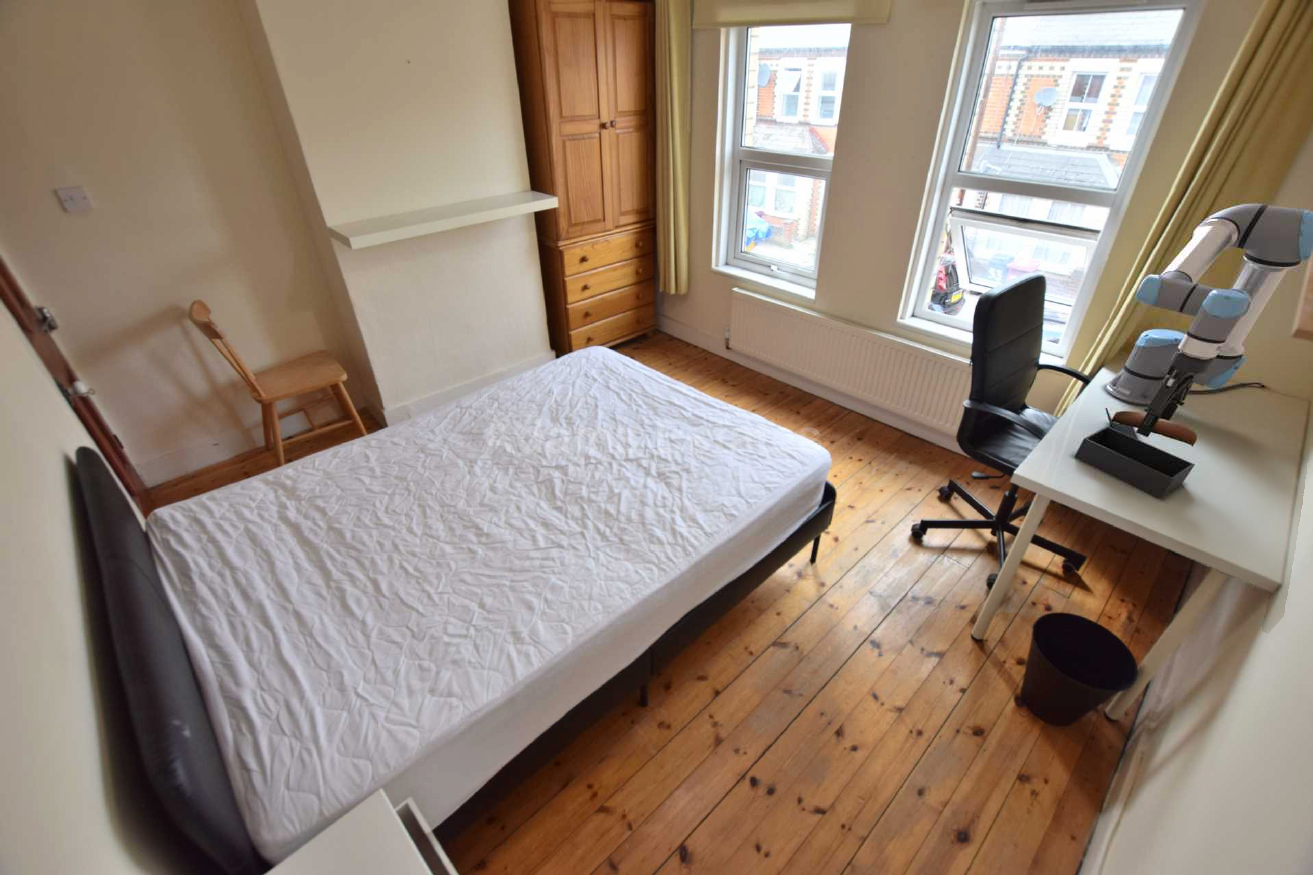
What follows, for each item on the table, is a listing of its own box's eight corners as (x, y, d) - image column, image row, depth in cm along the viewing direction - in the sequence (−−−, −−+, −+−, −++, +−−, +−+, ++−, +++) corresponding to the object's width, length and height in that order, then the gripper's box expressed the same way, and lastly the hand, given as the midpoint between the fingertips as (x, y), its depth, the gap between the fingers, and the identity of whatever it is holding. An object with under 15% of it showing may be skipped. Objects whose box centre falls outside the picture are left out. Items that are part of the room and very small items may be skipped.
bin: (1097, 444, 173) (1107, 426, 170) (1182, 483, 158) (1195, 464, 154) (1074, 457, 168) (1083, 438, 164) (1160, 499, 152) (1173, 479, 148)
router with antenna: (1148, 442, 172) (1135, 414, 170) (1120, 452, 175) (1107, 424, 173) (1132, 427, 182) (1120, 401, 180) (1106, 437, 185) (1094, 411, 183)
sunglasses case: (1194, 434, 153) (1205, 420, 148) (1186, 454, 151) (1197, 442, 146) (1114, 410, 163) (1122, 397, 157) (1105, 429, 161) (1113, 417, 155)
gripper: (1194, 369, 135) (1147, 447, 148) (1232, 350, 145) (1185, 425, 157) (1157, 357, 141) (1115, 433, 153) (1197, 339, 150) (1154, 412, 163)
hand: (1151, 429), depth 155 cm, fingers closed on sunglasses case, 9 cm apart
